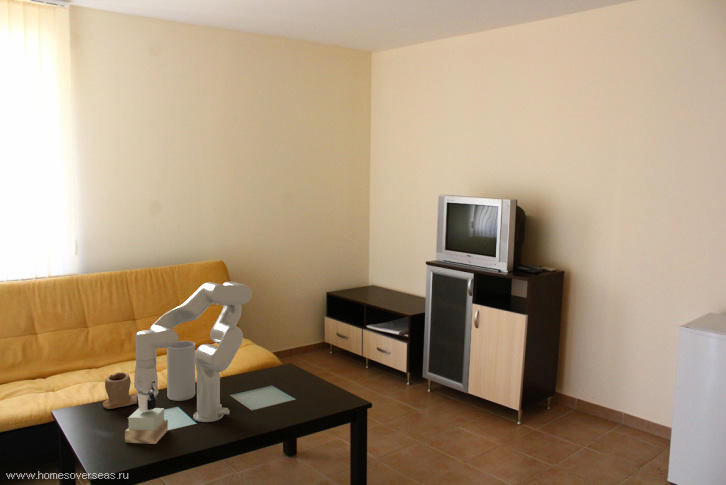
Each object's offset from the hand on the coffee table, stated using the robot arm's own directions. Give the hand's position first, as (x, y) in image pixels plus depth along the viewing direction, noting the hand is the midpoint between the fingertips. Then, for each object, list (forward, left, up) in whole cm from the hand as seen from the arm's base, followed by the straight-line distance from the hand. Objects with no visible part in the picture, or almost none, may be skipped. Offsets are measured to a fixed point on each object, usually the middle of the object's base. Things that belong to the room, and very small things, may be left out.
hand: (146, 406), depth 224 cm
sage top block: (0, 0, -8) cm, 8 cm away
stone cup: (+24, -29, -12) cm, 40 cm away
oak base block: (0, +1, -13) cm, 13 cm away
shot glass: (0, 0, -1) cm, 1 cm away
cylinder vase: (+2, -43, -12) cm, 45 cm away
